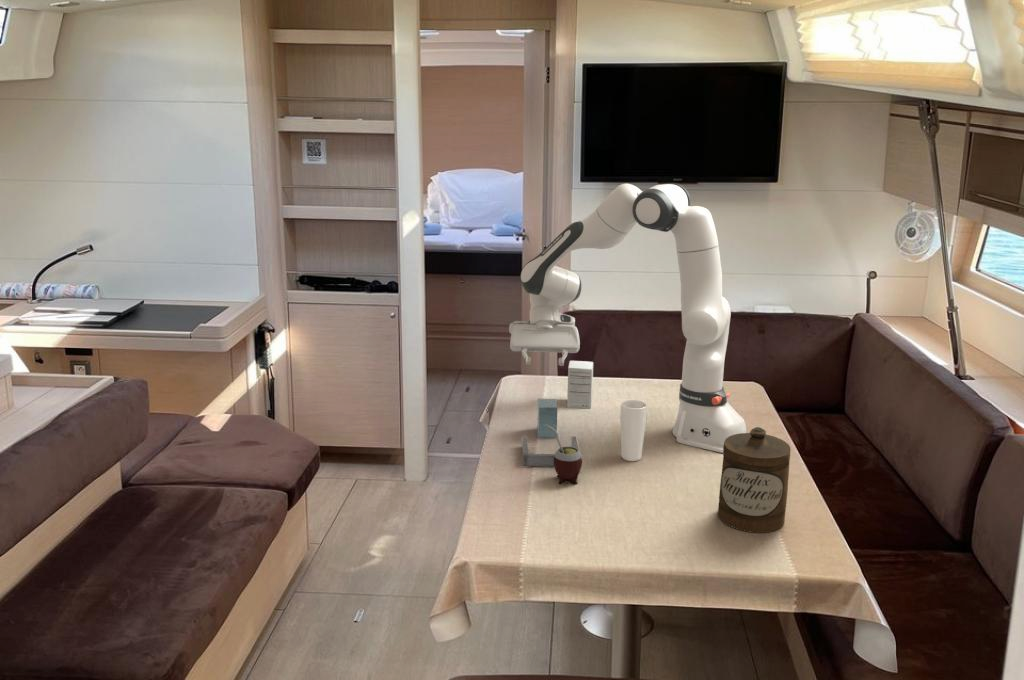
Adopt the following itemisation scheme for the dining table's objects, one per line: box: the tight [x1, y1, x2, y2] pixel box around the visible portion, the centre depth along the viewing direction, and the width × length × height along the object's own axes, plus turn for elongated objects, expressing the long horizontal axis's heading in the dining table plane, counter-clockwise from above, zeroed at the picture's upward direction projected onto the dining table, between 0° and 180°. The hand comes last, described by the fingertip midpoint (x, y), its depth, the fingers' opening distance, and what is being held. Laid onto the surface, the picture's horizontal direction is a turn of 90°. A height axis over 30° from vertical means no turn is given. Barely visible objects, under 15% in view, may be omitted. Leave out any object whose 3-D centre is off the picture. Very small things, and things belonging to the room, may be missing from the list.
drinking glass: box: [619, 399, 648, 462], centre depth 248 cm, size 7×7×15 cm
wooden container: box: [717, 426, 791, 533], centre depth 215 cm, size 15×15×22 cm
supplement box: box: [566, 360, 594, 409], centre depth 288 cm, size 7×7×13 cm
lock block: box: [536, 398, 558, 439], centre depth 265 cm, size 8×5×9 cm, turn 1°
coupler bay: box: [521, 435, 580, 468], centre depth 250 cm, size 13×14×3 cm
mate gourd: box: [546, 424, 583, 485], centre depth 234 cm, size 8×8×15 cm
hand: (544, 364), depth 274 cm, fingers open, 8 cm apart
